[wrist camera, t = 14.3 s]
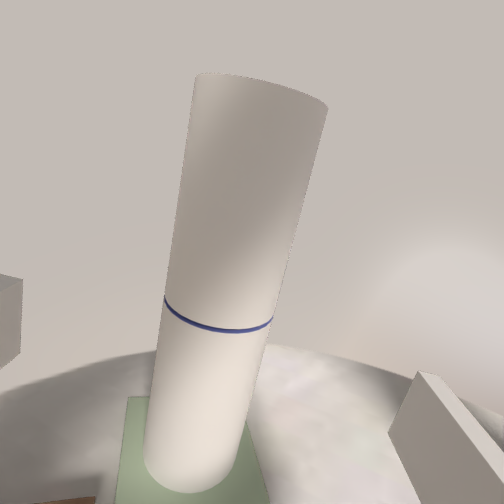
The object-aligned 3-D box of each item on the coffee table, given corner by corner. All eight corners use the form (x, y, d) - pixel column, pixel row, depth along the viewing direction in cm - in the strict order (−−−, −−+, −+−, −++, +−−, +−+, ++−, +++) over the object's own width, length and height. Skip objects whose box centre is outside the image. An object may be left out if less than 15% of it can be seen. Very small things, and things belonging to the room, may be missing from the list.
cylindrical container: (122, 471, 21) (171, 62, 14) (169, 397, 28) (218, 97, 21) (221, 509, 20) (331, 93, 13) (245, 423, 27) (325, 119, 20)
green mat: (236, 402, 30) (238, 394, 30) (267, 515, 21) (270, 505, 21) (127, 406, 27) (128, 397, 27) (109, 541, 18) (110, 530, 18)
